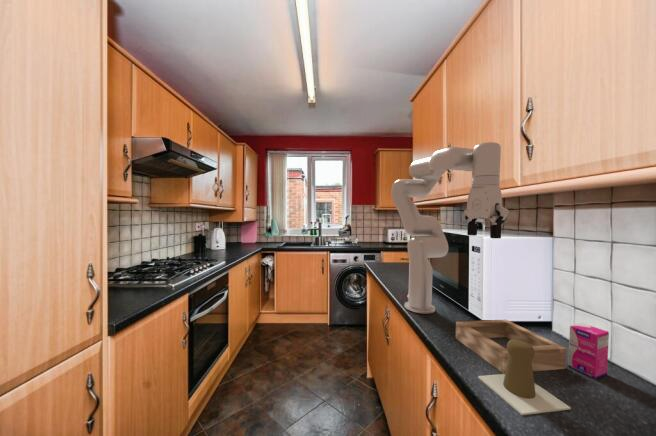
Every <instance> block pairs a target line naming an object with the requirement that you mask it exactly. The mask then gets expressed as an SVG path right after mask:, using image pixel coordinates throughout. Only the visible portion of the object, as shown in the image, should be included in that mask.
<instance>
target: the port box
mask: <svg viewBox="0 0 656 436" xmlns="http://www.w3.org/2000/svg"><path fill="white" fill-rule="evenodd" d="M492 338H507V339H508V340H514V339H515V340H521V341H524V342H527V343H528V344H530V345H531V346H532V347H533V349H534V351H535V356H534V358H533V359H532V360H531V361H532V369H533V372H542V371H552V370H555V371H556V370H564V369H565V370H566V365H567V363H566V360H567V347H564V346H562V345H560V344H558V343H556V342H554V341H552V340H550V339H548V338H545V337H544V336H541V335H540V334H537V333H535V332H534V331H531V330H529V329H527V328H525V327H522V326H520V325H519V324H516V323H514V322H512V321H510V320H508V319H487V320H486V319H485V320H468V321H467V320H465V321H455V339H456V340H457V341H458V342H459V343H461V344H462V345H464V346H466V347H467V348H468V349H469V350H471V351H472V352H474V353H475V354H477V356H479V357H480V358H482V359H483V360H484V361H486V362H487V363H488V364H490V365H491V366H493V368H495V369H497V371H499V372H501V374H505V372H506V367H507V363H508V358H509V353H508V351H507V347H506V348H505V347H503V346H502V345H501V344H499V343H497V342H495V340H492Z"/></svg>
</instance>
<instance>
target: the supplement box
mask: <svg viewBox="0 0 656 436" xmlns="http://www.w3.org/2000/svg"><path fill="white" fill-rule="evenodd" d="M609 333H610V332H609V331H608V330H604V329H601V328H598V327H594V326H591V325H589V324H586V323H583V322H580V323H577V324H573V325H570V326H569V339H568V363H567V366H568V367H569V368H571V369H574V370H575V371H579V372H580V373H582V374H585V375H587V376H589V377H590V378H593V379H595V380H596V379H597V378H598V379H599V378H600V377H603V376H607V375H608V357H609V335H610V334H609Z"/></svg>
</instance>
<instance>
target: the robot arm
mask: <svg viewBox="0 0 656 436" xmlns="http://www.w3.org/2000/svg"><path fill="white" fill-rule="evenodd" d="M501 151H502V146H501V144H499V143H498V142H493V141H489V142H487V141H486V142H482V143H478V144H476V145H474V147H473V148H468V147H458V146H451V147H449V146H448V147H445V148H442V149H438V150H436V151H434V152H433V154H432V155H431V156H428V157H424V158H420V159H416V160H415V161H413V162H411V164H410V165H409V166H408V167H409V168H408V172H409V176H411V177H412V179H410V178H409V179H408V178H402V179H397V180H395V181H394V182H393V183H392V186H391V189H390V190H391V191H390V193H391V200H392V202H393V204H394V206H395V208H396V209H397V212H398V214H399V217H400V219H401V223H402V226H403V228H404V231H405V233H406V234H407V235H409V236H413V237H411V238H410V239H409V240H408V241H407V253H408V263H409V264H408V293H407V295H406V297H407V301H405V302H404V308H405V309H406V310H408V311H411V312H412V313H417V314H427V315H428V314H433V313H435V312H436V307H435V306H434V305H433V304H432V297H433V295H432V294H433V266H432V264H431V262H430V260H429V259H430V258H432V259H433V258H435V259H436V258H443V257H446V256H447V254H448V253H449V243H448V240H447V237H446V235H445V234H444V233H445V232H444V230H443V229H442V228H443V227H442V226H441V224H440V222H439V220H438V219H437V218H436V217H434V216H432V215H425V214H424V215H422V214H420V212H419V209H418V207H417V206H416V204H415V203H414V201H412V200H411V199H410V198H418V199H421V198H426V197H427V196H428V195H429V194H430V193H431V191H432V190H433V188H434V187H435V186H436V185H437V183H438V182H439V181H440V179H441V177H442V176H443V175H444V174H445V173H446V171H449V170H452V171H464V172H471V187H470V188H469V192H468V195H467V202H466V203H467V204H466V209H464V210H463V214H464V219H465V220H466V223H467V236H477V235H478V223H477V222H478V220H479V219H488V220H490V222H491V224H490V227H489V228H490V230H489V231H490V233H489V238H490V239H501V238H502V226H503V225H504V223H505V221H507V217H508V216H509V214H510V210H509V209H507V208H506V207H504V206H503V197H502V189H501V186H500V179H501V178H500V176H501V157H502V155H501V154H502V152H501ZM413 178H414V179H413Z"/></svg>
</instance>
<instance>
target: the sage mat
mask: <svg viewBox="0 0 656 436" xmlns="http://www.w3.org/2000/svg"><path fill="white" fill-rule="evenodd" d="M504 377H505V374H503V373H500V374H499V373H498V374H490V375H489V374H487V375H478V376H477V379H479V380H480V381H481V382H482V383H483V384H484V385H485V386H487V387H488V388H489V389H491V390H492V391H493V392H494V393H495V395H497V396H499V397H500V399H502V400H503V401H505V403H507V404H508V405H509V406H510V407H512V408H513V409H514V410H515V411H516V412H517V413H519V415H520V416H528V415H537V414H543V413H552V412H560V411H567V410H569V411H570V410H571V409H572V408H571V406H569V405H567V404H566V403H564V402H563V401H562V400H560V399H559V398H557V397H555V395H553V394H552V393H550V392H549V391H547V390H546V389H544V388H543V387H542V386H540V385H538V383H536V382H534V386H535V394H536V396H535V397H534V398H531V399H528V398H522V397H519V396H517V395H514V394H512V393H511V392H509V391H508V390H507V389H506V388H505V387H504V385H503V382H504Z"/></svg>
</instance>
